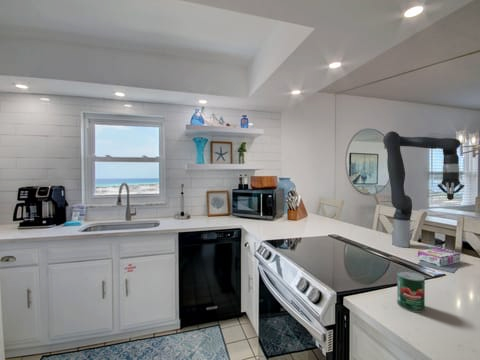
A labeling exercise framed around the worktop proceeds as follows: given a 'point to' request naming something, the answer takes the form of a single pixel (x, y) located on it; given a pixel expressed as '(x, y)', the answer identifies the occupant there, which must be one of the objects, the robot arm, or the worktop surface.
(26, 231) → the worktop surface
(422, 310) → the canned tomato
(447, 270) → the rubber mat
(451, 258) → the candy bar box
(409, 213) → the robot arm
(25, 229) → the worktop surface
